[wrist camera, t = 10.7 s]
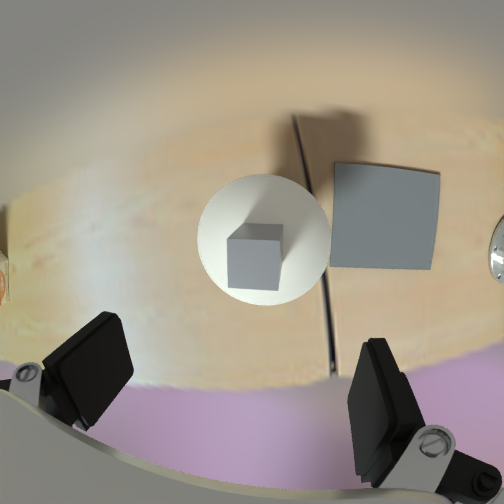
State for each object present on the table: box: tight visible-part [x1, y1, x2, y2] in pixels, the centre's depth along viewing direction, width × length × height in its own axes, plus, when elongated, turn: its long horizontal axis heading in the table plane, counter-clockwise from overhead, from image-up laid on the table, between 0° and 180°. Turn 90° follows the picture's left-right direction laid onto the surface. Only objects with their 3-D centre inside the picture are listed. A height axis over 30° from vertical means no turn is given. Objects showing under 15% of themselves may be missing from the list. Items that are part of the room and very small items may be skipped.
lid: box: [197, 174, 331, 305], centre depth 22 cm, size 12×12×7 cm
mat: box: [330, 162, 440, 270], centre depth 34 cm, size 16×14×1 cm
